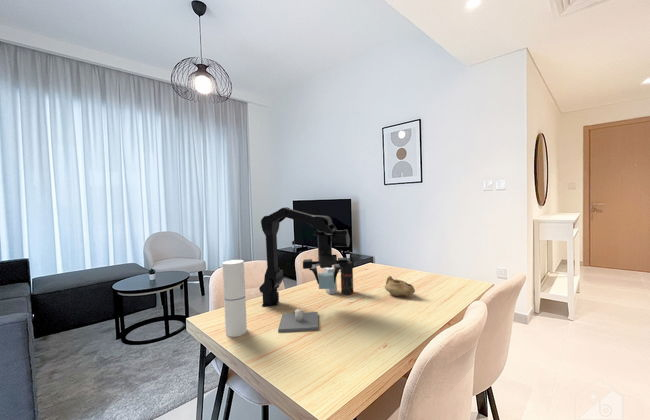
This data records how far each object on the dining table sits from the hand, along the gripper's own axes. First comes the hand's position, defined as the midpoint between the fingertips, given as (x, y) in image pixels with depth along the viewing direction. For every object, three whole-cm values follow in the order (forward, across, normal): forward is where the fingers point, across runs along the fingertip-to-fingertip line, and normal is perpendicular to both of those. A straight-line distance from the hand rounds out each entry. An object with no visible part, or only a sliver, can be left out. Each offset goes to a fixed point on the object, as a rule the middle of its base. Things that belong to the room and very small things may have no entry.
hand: (326, 283), depth 119 cm
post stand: (+11, -11, -12) cm, 20 cm away
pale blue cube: (+1, 0, 0) cm, 1 cm away
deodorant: (+11, +11, +20) cm, 25 cm away
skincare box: (+11, +3, +22) cm, 25 cm away
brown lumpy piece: (+11, +35, +13) cm, 39 cm away
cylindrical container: (+11, -33, -17) cm, 39 cm away
